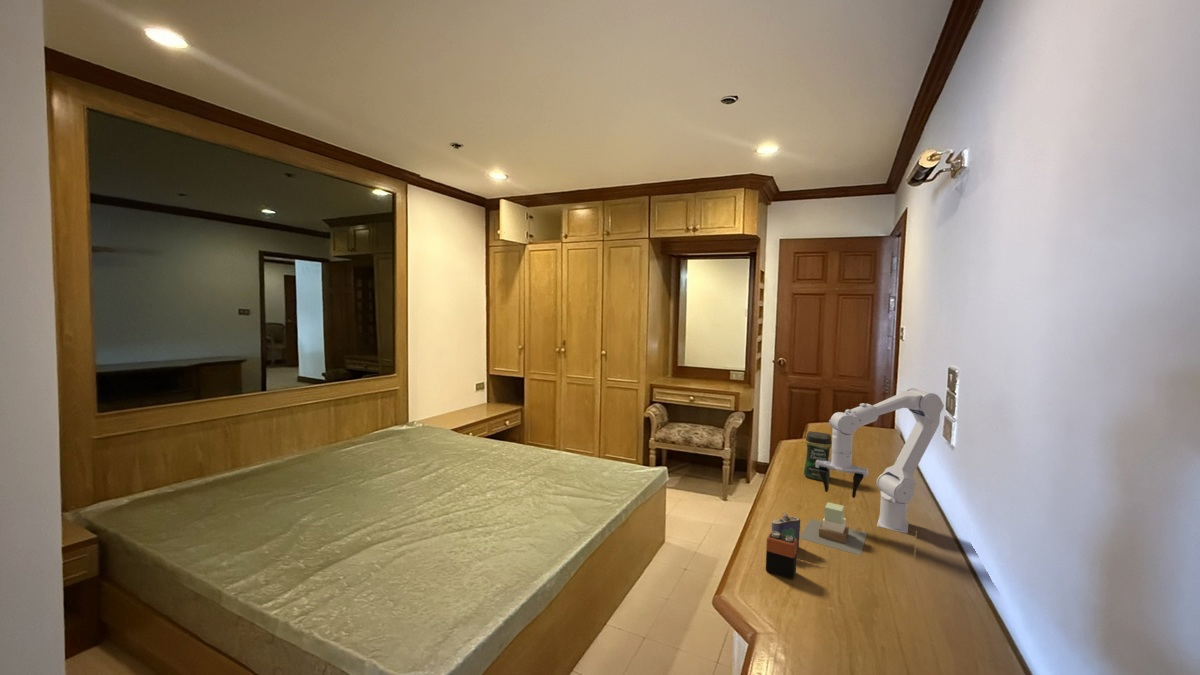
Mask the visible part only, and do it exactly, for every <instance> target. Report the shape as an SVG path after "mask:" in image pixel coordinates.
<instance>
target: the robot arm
mask: <svg viewBox="0 0 1200 675" xmlns="http://www.w3.org/2000/svg"><path fill="white" fill-rule="evenodd" d="M944 407H945V405H944V403H943V401H942V399H941V398H940V396H939V395H938V394H936V393H933V392H927V391H923V390H919V389H916V388H915V387H914V388H913V387H912V388H908V389H906V390H901V391H900V392H899V393H898V394H895V395H893V396H891V397H889V398H886V399H885V400H882V401H880V402H878V403H875V404H869V403H865V402H864V403H863V402H862V403H860V404H859V406H856V407H854V408H851V409H848V408H847V409H844V410H845V411H844V412H841V411H838V412H835V413H833V414H832V415H831V418H830V419H829V420H828V424H829V426H830V427H831V428H832V431H831V432H832V434H831V441H832V446H831V455H830V456H831V459H830V460H831V461H830V460H829V461H821V460H816V466H815V467H817V468H819V474H820V476H821V478H822V480H821V481H822V483H823V489H824V492H825V493H828V491H829V486H830V485H829V480H830V478H829V469H830V471H831V470H832V471H838V472H842V473H847V474H853V475H852V480H853V481H852V493H851V497H852V498H854V499H855V498H856V495H857V490H858V488H859V485H860V484H861V483H862V481H863V479H864V478H865V477H866V478H867V477H868V476H869V468H865V467H860V466H857V465H853V444H854V443H853V442H854V434H855V433H856V431H857V430H858V428H861V427H863V426H866V425H868V424H871V423H875V422H877V420H878V418H879V416H881V415H884V414H888V413H891V412H894V411H897V410H901V409H907V410H908V411H910V412H911V414H912V415H913V418H914V420H915V424H914V426H913V428H912V430H911V431H910V433H909V435H908V437H907V438H906V441H905V443H904V445H903V447H902V449H901V451H900V453H899V455H898V456H897V458H896V460H895V462H894V464H893V465H891V466H887V467H886V468H885V470H884V471H883V473H881V474H880V475H879V476H878V477H877V479H876V486H877V489H879V491H880V505H879V507H880V508H879V509H880V510H879V516H878V520H877V525H876V526H877V527H878V528H883V529H887V530H891V531H895V532H899V533H903V534H908V530H909V520H908V504H909V502H910V501H911V500H912V499H913V498H914V495H915V487H916V485H917V482H916V479H915V477H914V474H915V471H916V470H917V468H918V466H919V464H920V462H921V460H922V458H923V457H924V454H925V453H926V450H927V449H928V446H929V445H930V443H931V441H932V439H933V437H934V435H935V433H936V432H937V429H938V428H939V425H940V421H941V420H940V419H941V413H942V411H943V409H944ZM828 479H829V480H828Z"/></svg>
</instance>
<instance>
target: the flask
mask: <svg viewBox="0 0 1200 675" xmlns="http://www.w3.org/2000/svg"><path fill="white" fill-rule="evenodd" d="M800 528H801V519H800V518H799V517H797V516H793V515H792V516H788V513H787V512H785V511H784V512H782V516H781V518H777V519H774V520H772V521H771V532H772V531H777V532H779V533H780V534H781V535H785V536H791V537H793V538H796V539H797V550H799V547H800V539H799V538H800V530H801V529H800ZM771 532H770V533H771Z"/></svg>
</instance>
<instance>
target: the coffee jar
mask: <svg viewBox="0 0 1200 675" xmlns="http://www.w3.org/2000/svg"><path fill="white" fill-rule="evenodd" d="M805 444H806V455H805V456H806V457H805V463H804V469H803V470H804V471H803V475H804V477H806V478H808V479H812V480H818V481H823V480H822V478H821V476H820V474H819V468H817V467H815V466H816V460H821V461H830V451H831V450H830V449H832V434H830V433H828V432H827V433H826V432H819V431H813V430H809V431H807V434H806V436H805ZM830 478H831V469H829V479H828V481H829V480H830Z"/></svg>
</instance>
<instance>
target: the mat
mask: <svg viewBox="0 0 1200 675" xmlns="http://www.w3.org/2000/svg"><path fill="white" fill-rule="evenodd" d="M822 522H823V520H822V521H821V520H817V519H814V518H813V519H812V518H810V519H809V521H808V522H807V524H806V526H805V527H804V529H803V531H802V532H801V535H799V540H802V541H808V542H811V543H815V544H818V545H821V546H824V547H825V546H826V547H828V548H832V549H836V550H840V551H843V552H846V553H851V554H854V555H858V556H861V555H862V552H863V549H864V545H865V542H866V538H867V536H868V535H867V534H868V532H865V531H861V530H857V529H853V528H849V534H848V537H847V540H846V542H845V544H844V543H840V542H836V541H833V540H829V539H825V538H822V537H819V528H820V526H821V524H822Z"/></svg>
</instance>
